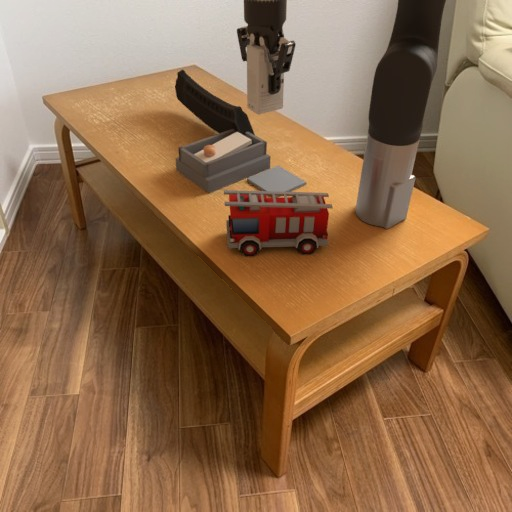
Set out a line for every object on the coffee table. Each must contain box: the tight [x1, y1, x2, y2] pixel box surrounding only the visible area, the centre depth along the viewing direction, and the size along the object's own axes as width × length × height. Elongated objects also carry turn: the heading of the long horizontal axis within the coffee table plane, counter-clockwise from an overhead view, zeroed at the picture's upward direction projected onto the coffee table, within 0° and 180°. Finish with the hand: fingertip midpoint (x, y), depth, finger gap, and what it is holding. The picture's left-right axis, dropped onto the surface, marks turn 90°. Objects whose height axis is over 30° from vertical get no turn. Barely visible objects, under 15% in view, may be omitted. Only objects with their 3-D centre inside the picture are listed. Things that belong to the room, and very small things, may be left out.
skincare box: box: [246, 45, 285, 115], centre depth 105 cm, size 6×4×12 cm
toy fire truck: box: [223, 189, 333, 258], centre depth 99 cm, size 9×19×10 cm, turn 95°
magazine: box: [174, 69, 256, 136], centre depth 132 cm, size 17×3×30 cm
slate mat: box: [246, 165, 307, 198], centre depth 118 cm, size 9×9×1 cm
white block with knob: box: [194, 132, 252, 162], centre depth 119 cm, size 12×5×2 cm, turn 130°
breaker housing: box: [174, 129, 272, 194], centre depth 121 cm, size 17×12×6 cm
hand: (265, 88), depth 106 cm, fingers closed on skincare box, 4 cm apart
